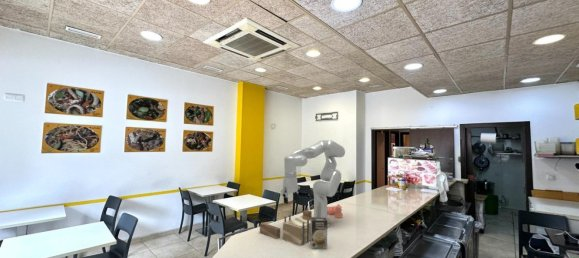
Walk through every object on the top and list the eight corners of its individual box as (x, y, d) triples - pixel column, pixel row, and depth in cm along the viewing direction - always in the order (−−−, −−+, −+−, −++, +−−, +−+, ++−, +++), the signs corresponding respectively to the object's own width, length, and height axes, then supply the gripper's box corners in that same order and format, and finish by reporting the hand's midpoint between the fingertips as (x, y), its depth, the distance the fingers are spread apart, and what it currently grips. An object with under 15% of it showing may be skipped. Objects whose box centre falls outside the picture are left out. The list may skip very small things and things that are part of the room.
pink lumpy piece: (325, 211, 207) (325, 200, 208) (335, 211, 210) (335, 199, 210) (334, 218, 190) (334, 205, 191) (345, 217, 193) (345, 205, 193)
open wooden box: (302, 230, 164) (302, 210, 165) (320, 236, 154) (320, 215, 155) (282, 239, 149) (282, 217, 150) (301, 246, 139) (301, 223, 140)
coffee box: (311, 249, 135) (311, 220, 136) (309, 244, 141) (310, 217, 142) (327, 249, 135) (327, 220, 136) (325, 244, 142) (325, 217, 142)
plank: (263, 231, 161) (263, 222, 161) (280, 238, 151) (280, 228, 151) (259, 232, 159) (259, 223, 159) (276, 239, 149) (277, 229, 149)
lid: (302, 217, 162) (302, 208, 163) (317, 222, 154) (317, 212, 154) (285, 224, 150) (285, 213, 150) (301, 229, 142) (301, 218, 142)
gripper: (294, 172, 166) (295, 197, 165) (276, 176, 153) (277, 203, 153) (303, 173, 161) (303, 199, 160) (285, 177, 148) (285, 205, 148)
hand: (291, 201), depth 157 cm, fingers open, 9 cm apart
